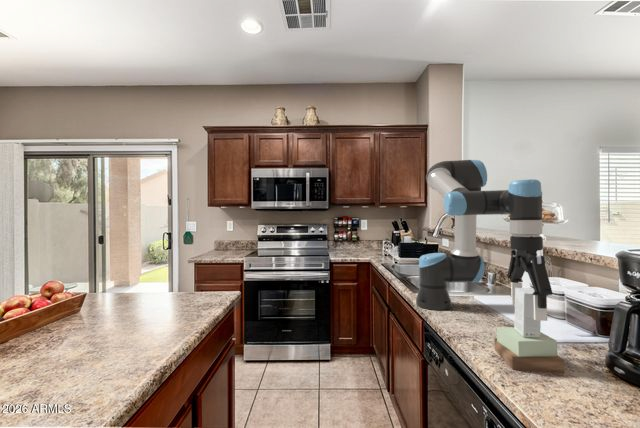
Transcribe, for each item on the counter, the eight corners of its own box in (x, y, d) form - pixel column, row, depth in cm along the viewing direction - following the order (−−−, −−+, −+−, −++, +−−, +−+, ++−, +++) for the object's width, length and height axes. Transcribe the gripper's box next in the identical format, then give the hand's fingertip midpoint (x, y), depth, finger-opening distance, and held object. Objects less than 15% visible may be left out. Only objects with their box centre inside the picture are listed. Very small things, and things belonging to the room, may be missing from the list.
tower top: (497, 341, 89) (496, 327, 89) (531, 340, 89) (531, 327, 89) (518, 356, 79) (518, 341, 79) (557, 356, 79) (557, 340, 79)
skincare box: (541, 338, 81) (541, 294, 80) (523, 337, 82) (524, 293, 81) (530, 329, 87) (530, 288, 86) (513, 328, 88) (514, 287, 87)
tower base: (494, 351, 91) (494, 338, 91) (538, 353, 89) (538, 340, 89) (512, 371, 80) (512, 356, 80) (564, 375, 77) (563, 359, 77)
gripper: (568, 239, 71) (570, 329, 71) (520, 232, 96) (522, 299, 96) (533, 239, 73) (535, 327, 73) (494, 232, 97) (496, 298, 97)
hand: (527, 311), depth 84 cm, fingers open, 13 cm apart
